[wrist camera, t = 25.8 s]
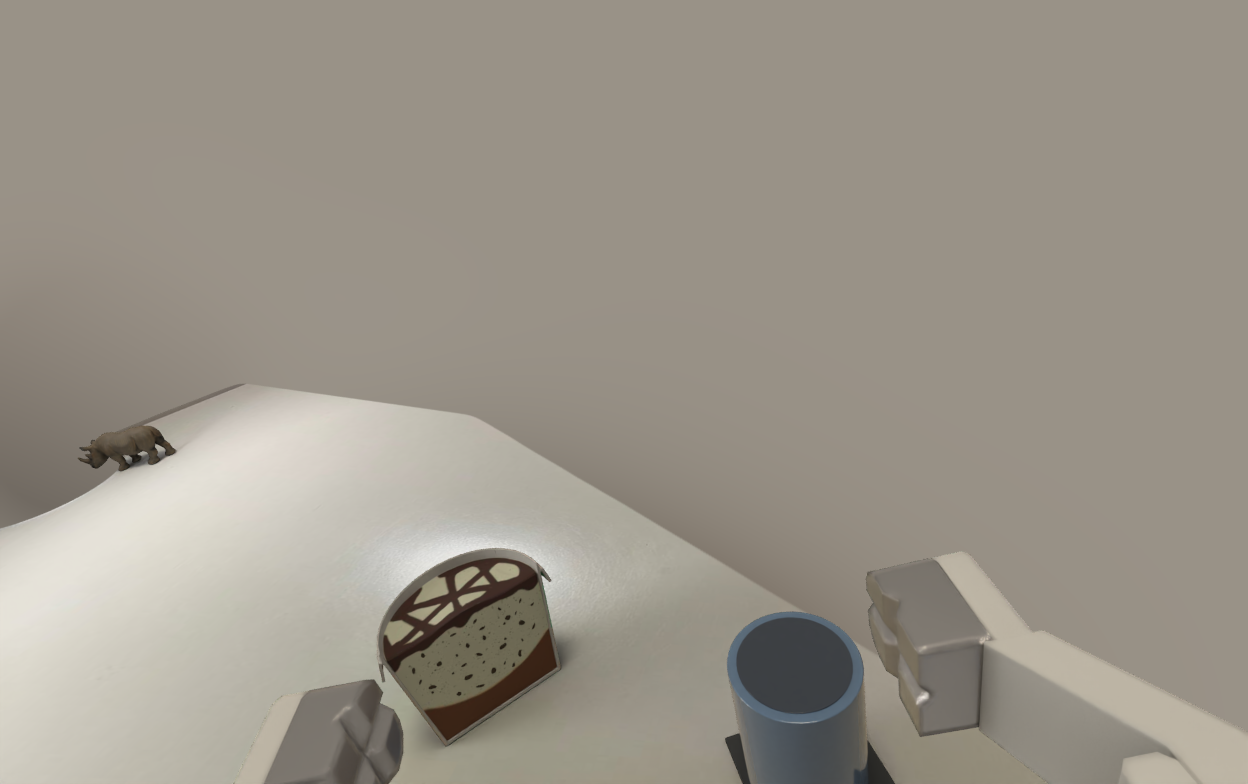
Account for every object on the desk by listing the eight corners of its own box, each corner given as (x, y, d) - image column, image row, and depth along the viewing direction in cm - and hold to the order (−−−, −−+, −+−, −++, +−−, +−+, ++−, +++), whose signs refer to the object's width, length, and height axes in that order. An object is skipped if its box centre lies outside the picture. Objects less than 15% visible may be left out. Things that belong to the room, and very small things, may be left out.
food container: (542, 612, 54) (509, 520, 49) (577, 657, 49) (544, 559, 44) (402, 700, 48) (351, 605, 44) (425, 760, 44) (370, 660, 39)
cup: (856, 865, 33) (847, 743, 28) (732, 812, 36) (707, 696, 32) (879, 747, 38) (875, 627, 33) (768, 710, 41) (750, 598, 37)
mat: (918, 823, 34) (918, 820, 34) (780, 876, 33) (780, 873, 33) (840, 699, 41) (840, 696, 41) (725, 741, 40) (724, 738, 40)
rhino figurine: (99, 466, 102) (77, 435, 100) (180, 448, 102) (161, 416, 99) (81, 480, 99) (58, 448, 96) (166, 461, 98) (145, 429, 96)
